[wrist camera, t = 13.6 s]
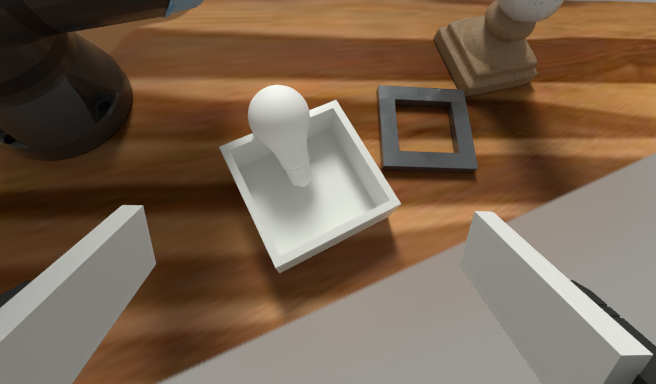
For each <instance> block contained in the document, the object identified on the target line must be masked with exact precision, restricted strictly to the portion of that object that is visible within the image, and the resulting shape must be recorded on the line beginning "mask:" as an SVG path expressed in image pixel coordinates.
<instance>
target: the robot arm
mask: <svg viewBox="0 0 656 384" xmlns="http://www.w3.org/2000/svg"><path fill="white" fill-rule="evenodd" d="M203 1H204V0H0V145H2V146H4V147H6V148H8V149H10V150H12V151H13V152H15V153H17V154H19V155H22V156H25V157H28V158H32V159H38V160H58V159H65V158H69V157H73V156H77V155H80V154H82V153H85V152H87V151H89V150H91V149H93V148H95V147H97V146H99V145H100V144H102V143H103V142H105V141H106V140H107V139H108V138H110V137H111V136H112V135H113V134H114V133H115V132H116V131H117V130H118V129H119V127H120V126H121V125H122V123H123V122H124V120H125V119H126V117H127V115H128V112H129V110H130V107H131V102H132V89H131V85H130V82H129V80H128V78H127V76H126V75H125V73H124V72H123V70H122V69H121V68H120V67H119V65H118V64H117V63H116V61H115V60H114V59H113V58H112V57H111V56H110V55H109V54H107V53H106V52H105V51H103V50H102V49H100V48H99V47H97V46H96V45H94V44H93V43H92V42H90V41H89V40H87V39H86V38H84V37H83V36H81V35H80V34H78V33H77V32H75V31H80V30H85V29H92V28H98V27H103V26H109V25H115V24H121V23H127V22H133V21H138V20H145V19H151V18H156V17H164V18H165V17H167V16H170V15H171V14H172V13H176V12H180V11H183V10H188V9H192V8H195V7H197V6H199V5H200V4H201V3H202V2H203ZM155 265H156V261H155V257H154V252H153V248H152V243H151V239H150V234H149V230H148V225H147V221H146V216H145V212H144V207H143V205H122V206H120V207H119V208H118V209H117V210H116V211H115V212H113V213H112V214H111V215H110V216H109V217H107V218H106V219H105V220H104V221H103V222H101V223H100V224H99V225H98V226H97V227H96V228H94V229H93V230H92V231H91V232H90V233H88V234H87V235H86V236H85V237H84V238H83V239H81V240H80V241H79V242H78V243H77V244H75V245H74V246H73V247H72V248H71V249H70V250H68V251H67V252H66V253H65V254H64V255H62V256H61V257H60V258H59V259H58V260H57V261H55V262H54V263H53V264H52V265H51V266H49V267H48V268H47V269H46V270H45V271H44V272H42V273H41V274H40V275H39V276H38V277H36V278H35V279H34V280H33V281H25V282H24V283H22V284H20V285H18V286H16V287H14V288H12V289H11V290H9V291H7V292H5V293H3V294H2V295H1V296H0V384H72V383H73V382H74V380H75V379H76V377H77V376H78V375H79V373H80V372H81V370H82V369H83V367H84V366H85V365H86V363H87V362H88V360H89V359H90V357H91V356H92V355H93V353H94V352H95V350H96V349H97V347H98V346H99V345H100V343H101V342H102V340H103V339H104V338H105V336H106V335H107V333H108V332H109V330H110V329H111V328H112V326H113V325H114V323H115V322H116V320H117V319H118V318H119V316H120V315H121V313H122V312H123V311H124V309H125V308H126V306H127V305H128V303H129V302H130V301H131V299H132V298H133V296H134V295H135V293H136V292H137V291H138V289H139V288H140V286H141V285H142V283H143V282H144V281H145V279H146V278H147V276H148V275H149V274H150V272H151V271H152V269H153V268H154V266H155ZM460 267H461V268H462V270H463V271H464V272H465V274H466V275H467V276H468V278H469V280H470V281H471V283H472V284H473V286H474V287H475V288H476V290H477V291H478V293H479V294H480V295H481V297H482V299H483V300H484V301H485V303H486V304H487V306H488V307H489V309H490V310H491V311H492V313H493V314H494V316H495V317H496V319H497V320H498V322H499V323H500V324H501V326H502V327H503V329H504V330H505V332H506V333H507V335H508V336H509V337H510V339H511V340H512V342H513V343H514V345H515V346H516V347H517V349H518V350H519V352H520V353H521V355H522V356H523V357H524V359H525V360H526V362H527V363H528V365H529V366H530V368H531V369H532V370H533V372H534V373H535V375H536V376H537V378H538V379H539V380H540V382H541V383H542V384H656V346H655V345H654V344H652V343H651V342H650V341H649V340H648V339H647V338H645V337H644V336H643V335H642V334H641V333H640V332H638V331H637V330H636V329H635V328H634V327H633V326H631V325H630V324H629V323H628V322H627V321H625V319H623V318H620V315H618V313H616V312H615V311H614V310H613V309H612V308H610V307H607V304H606V303H605V302H603V301H602V300H601V299H600V298H599V297H598V296H597V295H595V294H594V293H593V292H592V291H590V290H589V289H587V288H585V287H584V286H582V285H580V284H578V283H577V282H575V281H573V280H569V279H568V278H566V277H565V276H564V275H563V274H562V273H561V272H560V271H559V270H558V269H556V268H555V267H554V266H553V265H552V264H550V262H548V261H547V260H546V259H545V258H544V257H543V256H542V255H541V254H540V253H538V252H537V251H536V250H535V249H534V248H533V247H532V246H530V245H529V244H528V243H527V242H526V241H525V240H524V239H523V238H522V237H520V236H519V235H518V234H517V233H516V232H515V231H514V230H513V229H511V228H510V227H509V226H508V225H507V224H506V223H505V222H504V221H502V220H501V219H500V218H499V217H498V216H497V215H496V214H495V213H493V212H485V211H475V212H474V215H473V219H472V223H471V226H470V230H469V233H468V237H467V241H466V244H465V248H464V251H463V255H462V259H461V262H460Z"/></svg>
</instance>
